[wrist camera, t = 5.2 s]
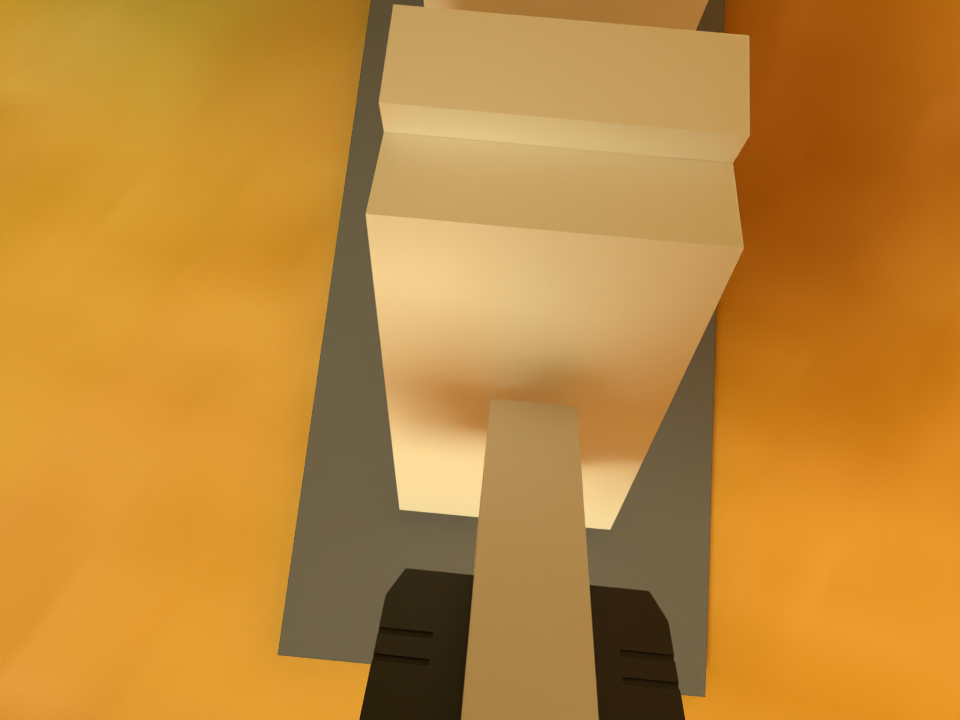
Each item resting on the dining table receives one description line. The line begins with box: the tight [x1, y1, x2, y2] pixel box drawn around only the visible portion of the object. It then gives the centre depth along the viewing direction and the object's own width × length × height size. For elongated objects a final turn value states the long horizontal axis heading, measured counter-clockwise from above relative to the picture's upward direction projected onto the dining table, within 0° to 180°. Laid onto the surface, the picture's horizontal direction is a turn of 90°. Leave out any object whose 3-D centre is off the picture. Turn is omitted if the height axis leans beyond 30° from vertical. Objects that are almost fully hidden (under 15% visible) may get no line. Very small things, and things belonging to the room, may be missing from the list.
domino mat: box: [278, 0, 725, 697], centre depth 21 cm, size 22×10×1 cm, turn 175°
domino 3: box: [366, 132, 744, 530], centre depth 15 cm, size 2×5×10 cm, turn 84°
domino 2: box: [379, 4, 750, 163], centre depth 16 cm, size 2×5×10 cm, turn 84°
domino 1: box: [424, 0, 709, 31], centre depth 17 cm, size 2×5×10 cm, turn 85°
